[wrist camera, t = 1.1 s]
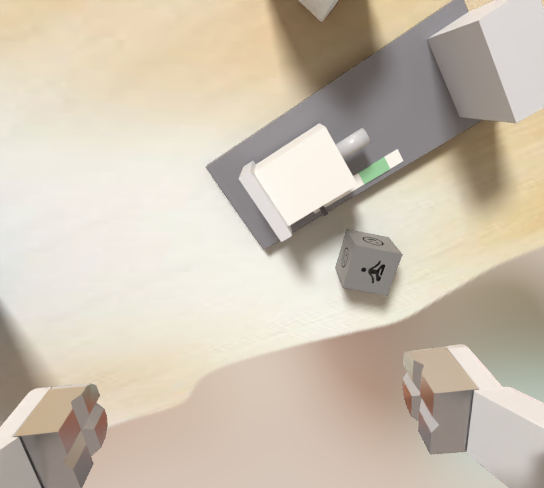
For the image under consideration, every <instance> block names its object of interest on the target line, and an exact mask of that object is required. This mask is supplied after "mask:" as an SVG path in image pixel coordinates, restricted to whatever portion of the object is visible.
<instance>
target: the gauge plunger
mask: <svg viewBox="0 0 544 488" xmlns="http://www.w3.org/2000/svg"><path fill="white" fill-rule="evenodd" d="M369 143H371V141H370V139H369V137H368V135H367V133H366V131H365V130H364V129H363V128H361V129H359V130H358V131H356V132H354V133H353V134H351V135H350V136H348V137H346V138H345V139H343V140H342V141H340V142H338V143H337V144H335V143H334V141H333V139H332V138H331V136H330V134H329V132H328V130H327V129H326V127H325V126H323V125H321V124H320V123H319V124H317V125H316V126H314V127H313V128H311V129H310V130H308V131H306V132H305V133H303V134H302V135H300V136H299V137H297V138H296V139H294V140H293V141H291V142H290V143H288V144H287V145H285V146H283V147H282V148H280V149H279V150H277V151H276V152H274V153H273V154H271V155H270V156H268V157H267V158H265V159H263V160H262V161H260V162H259V163H257V164H255V162H254V161H251V162H250V163H248V164H247V165H245V166H244V167H243V169H242V171H241V174H240V177H239V180H240V182H241V183H242V185H243V186H244V188H245V189H246V191H247V192H248V194H249V195H250V197H251V198H252V199H253V201H254V202H255V204H256V205H257V207H258V208H259V210H260V211H261V213H262V214H263V216H264V217H265V219H266V220H267V222H268V223H269V225H270V226H271V228H272V229H273V231H274V232H275V233H276V235H277V236H278V238H279V239H280V241H281V242H282V241H284V240H286V239H288V238H289V237H291V236H292V230H291V224H293V223H295V222H296V221H298V220H300V219H301V218H303V217H305V216H306V215H308V214H310V213H311V212H313V211H315V210H316V209H318V208H319V209H320V210H321V212H322V213H323V215H324V216H325V215H327V214H328V212H327V211H326V209H325V207H324V206H323V205H325V204H326V203H328V202H330V201H331V200H333V199H335V198H336V197H338V196H340V195H341V194H343V193H345V192H346V191H348V190H350V189H351V188H353V187H355V186H356V185H358V184H357V182H356V181H355V179H354V177H353V175H352V173H351V172H350V170H349V168H348V166H347V164H346V163H345V161H344V159H345V158H347V157H348V156H350V155H352V154H353V153H355V152H356V151H358V150H360V149H361V148H363V147H364V146H366V145H368V144H369Z"/></svg>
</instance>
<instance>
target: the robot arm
mask: <svg viewBox="0 0 544 488" xmlns="http://www.w3.org/2000/svg"><path fill="white" fill-rule="evenodd" d="M403 365H404V367H405V369H406V371H407V373H406V375H405V376H404V377H403V394H404V400H405V402H406V405H407V408H408V410H409V413H410V415H411V416H412V417H413V418H415V419H416V420H418V421H419V429H418V431H419V433H420V435H421V437H422V439H423V441H424V443H425V445H426V447H427V449H428V451H429V453H430V454H442V453H456V452H467V454H468V455H469V456H470V457H471V458H473V459H474V460H475V461H476V462H477V463H479V464H480V465H481V466H482V467H484V468H485V469H486V470H487V471H489V472H490V473H491V474H492V475H494V476H495V477H496V478H497V479H499V480H500V481H501V482H502V483H504V484H505V485H506V486H507V487H509V488H544V403H542V402H540V401H538V400H536V399H534V398H532V397H530V396H528V395H526V394H524V393H521V392H519V391H517V390H515V389H513V388H511V387H502V385H501V384H500V383H499V382H498V381H497V380H496V379H495V378H494V376H493V375H492V374H491V373H490V372H489V371H488V370H487V368H486V367H485V366H484V365H483V364H482V363H481V362H480V361H479V359H478V358H477V357H476V356H475V355H474V354H473V353H472V352H471V350H470V349H469V348H468V347H467V346H465V345H463V344H461V345H452V346H445V347H441V348H432V349H423V350H414V351H406V352H405V353H404V356H403ZM99 396H100V394H99V392H98V389H97V387H96V385H94V384H78V385H66V386H55V387H44V388H36V389H33V390H31V391H30V392H29V393H28V394H27V395H26V396H25V398H24V399H23V400H22V401H21V402H20V404H19V405H18V406H17V407H16V409H15V410H14V411H13V412H12V413H11V415H10V416H9V417H8V418H7V420H6V421H5V422H4V423H3V424H2V426H1V427H0V488H82V487H83V485H84V482H85V480H86V478H87V476H88V474H89V472H90V470H91V468H92V465H93V461H92V458H91V456H92V455H93V454H94V453H95V452H97V451H98V450H99V449H100V448H101V446H102V444H103V442H104V440H105V437H106V431H107V426H108V425H107V415H106V412H105V409H104V408H103V407H101V406H100V405H99V404H97V403H96V402H97V400H98V398H99Z"/></svg>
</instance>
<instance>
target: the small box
mask: <svg viewBox="0 0 544 488" xmlns="http://www.w3.org/2000/svg"><path fill="white" fill-rule="evenodd" d="M298 1H299V2H300V3H301V4H302V5H304V6H305V7H306V8H307V9H308V10H309V11H310V12H311V13H312V14H313V15H314V16H315V17H316V18H317V19H318V20H319V21H320V22H323V21H324V19H325V18H326V17H327V15H328V14H329V13H330V11H331V10H332V9H333V8H334V6H335V5H336V4H337V2H338V1H339V0H298Z"/></svg>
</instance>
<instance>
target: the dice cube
mask: <svg viewBox="0 0 544 488" xmlns="http://www.w3.org/2000/svg"><path fill="white" fill-rule="evenodd" d="M401 257H402V253H401V252H400V251H399V250H398V248H397V247H396V246H395V245H394V244H393V242H392V241H391V240H390V239H389V237H384V236H379V235H374V234H369V233H364V232H358V231H353V230H348V229H347V230H346V233H345V237H344V240H343V244H342V247H341V250H340V254H339V257H338V260H337V264H336V267H335V268H336V271H337V274H338V276H339V279H340V282H341V284H342V287H343V288H347V289H353V290H358V291H364V292H369V293H375V294H380V295H386V296H387V295H388V292H389V290H390V287H391V284H392V282H393V279H394V276H395V273H396V271H397V268H398V265H399V262H400V260H401Z"/></svg>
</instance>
